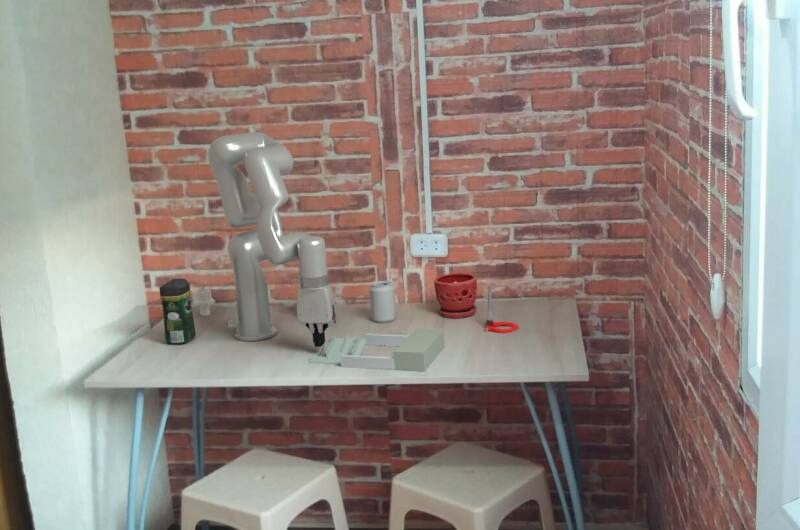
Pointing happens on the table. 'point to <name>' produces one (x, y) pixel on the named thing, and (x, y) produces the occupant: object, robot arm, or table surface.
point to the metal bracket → (339, 349)
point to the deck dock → (401, 351)
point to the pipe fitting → (203, 301)
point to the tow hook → (491, 323)
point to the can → (382, 302)
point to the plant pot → (456, 294)
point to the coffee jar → (177, 311)
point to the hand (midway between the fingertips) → (319, 345)
